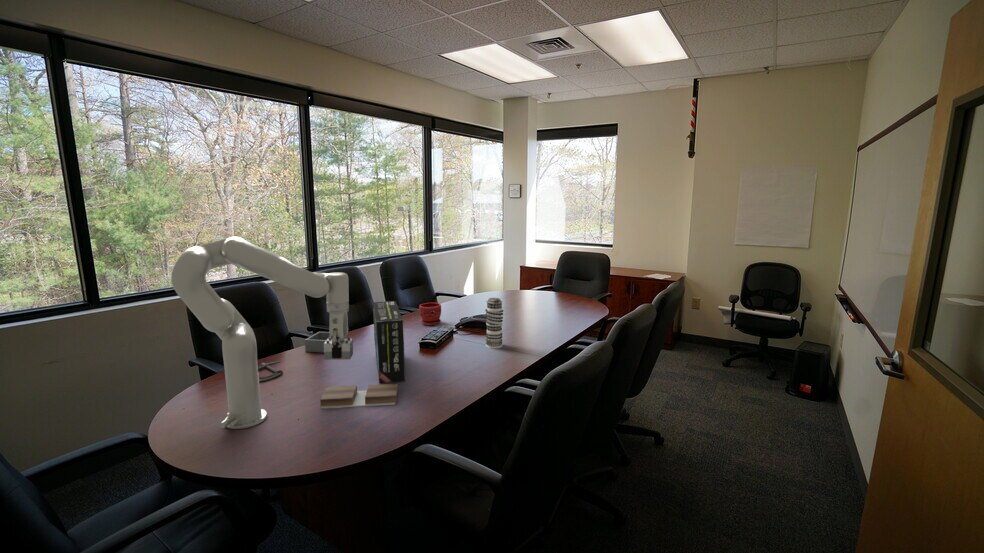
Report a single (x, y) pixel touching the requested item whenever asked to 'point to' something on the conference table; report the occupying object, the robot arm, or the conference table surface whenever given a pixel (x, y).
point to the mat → (358, 401)
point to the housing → (345, 349)
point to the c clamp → (267, 365)
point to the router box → (389, 342)
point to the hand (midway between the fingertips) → (338, 354)
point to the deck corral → (316, 342)
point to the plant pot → (430, 313)
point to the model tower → (494, 323)
